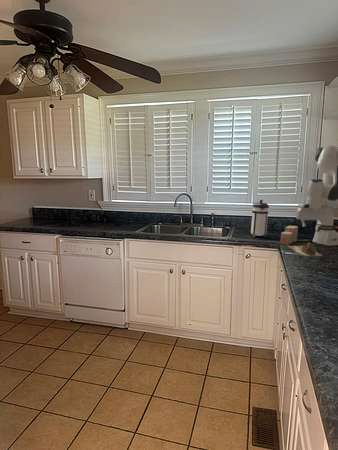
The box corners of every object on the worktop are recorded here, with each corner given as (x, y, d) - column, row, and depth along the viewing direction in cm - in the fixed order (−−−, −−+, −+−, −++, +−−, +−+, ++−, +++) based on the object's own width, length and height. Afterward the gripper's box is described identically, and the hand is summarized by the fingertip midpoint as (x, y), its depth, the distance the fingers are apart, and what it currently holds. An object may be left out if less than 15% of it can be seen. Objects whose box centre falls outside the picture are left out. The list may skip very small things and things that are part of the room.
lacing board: (306, 248, 219) (307, 236, 218) (323, 258, 196) (324, 245, 194) (286, 247, 219) (287, 236, 217) (301, 257, 195) (302, 244, 194)
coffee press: (272, 236, 253) (275, 200, 247) (259, 239, 244) (262, 201, 238) (255, 232, 267) (258, 198, 261) (242, 234, 258) (245, 198, 252)
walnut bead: (310, 251, 204) (311, 245, 203) (315, 254, 198) (315, 248, 198) (301, 251, 204) (302, 245, 203) (305, 254, 198) (306, 248, 197)
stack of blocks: (288, 247, 222) (290, 230, 220) (279, 245, 226) (281, 228, 223) (296, 241, 239) (298, 226, 236) (288, 240, 242) (289, 225, 240)
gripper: (327, 204, 199) (325, 226, 201) (295, 204, 198) (293, 225, 201) (332, 206, 192) (330, 228, 195) (300, 205, 192) (297, 227, 195)
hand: (311, 226), depth 198 cm, fingers open, 8 cm apart
